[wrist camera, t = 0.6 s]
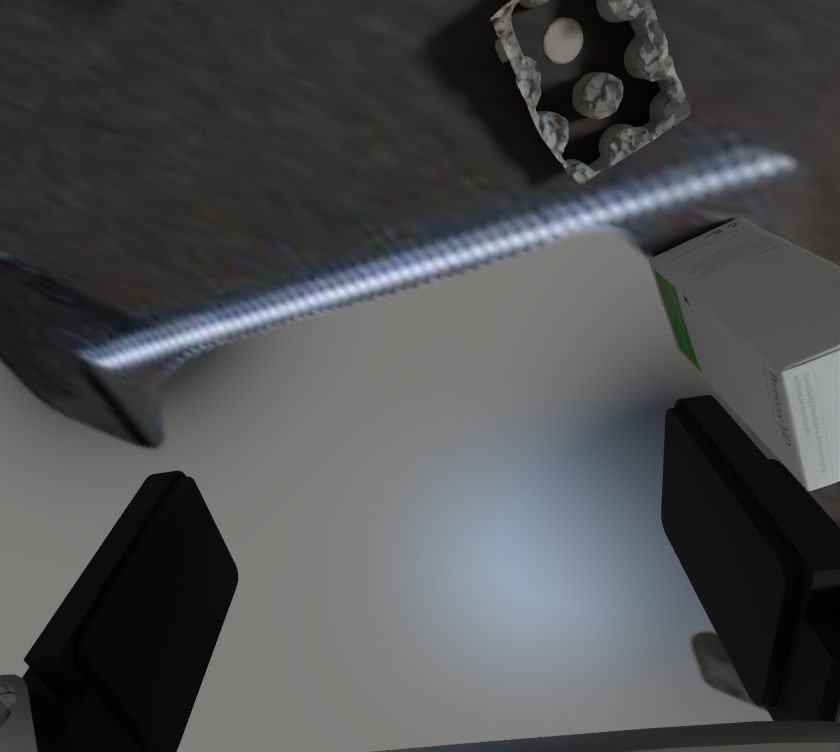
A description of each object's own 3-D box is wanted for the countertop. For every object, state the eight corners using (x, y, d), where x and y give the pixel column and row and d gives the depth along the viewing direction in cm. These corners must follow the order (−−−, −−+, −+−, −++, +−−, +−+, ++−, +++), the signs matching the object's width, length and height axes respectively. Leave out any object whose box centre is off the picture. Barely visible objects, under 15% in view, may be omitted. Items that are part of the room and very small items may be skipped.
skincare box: (645, 256, 37) (772, 366, 24) (746, 210, 36) (943, 300, 22) (678, 354, 41) (803, 499, 27) (770, 317, 39) (952, 450, 26)
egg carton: (475, 18, 31) (481, 12, 27) (599, -75, 29) (624, -95, 25) (560, 184, 35) (574, 197, 32) (673, 113, 33) (703, 119, 30)
